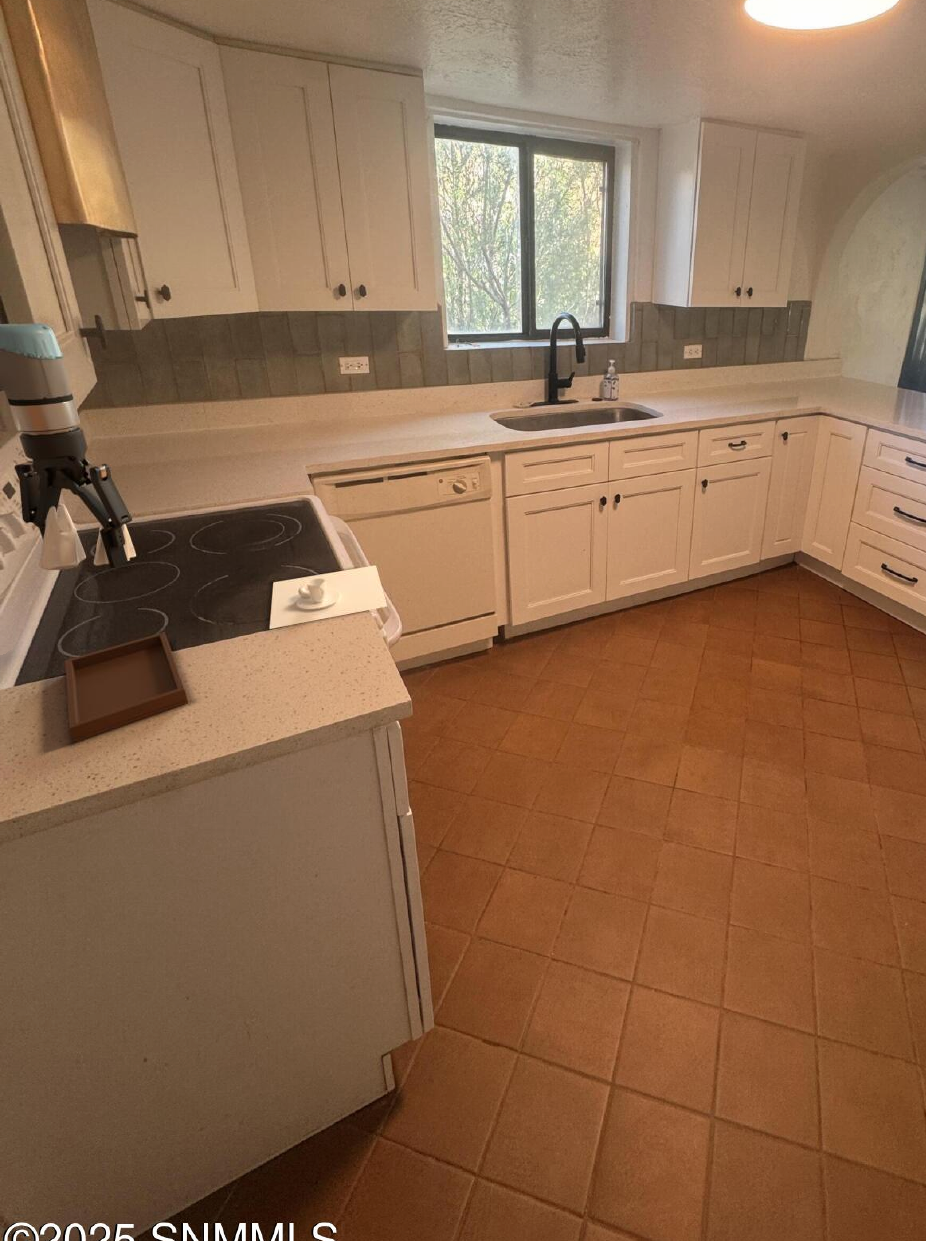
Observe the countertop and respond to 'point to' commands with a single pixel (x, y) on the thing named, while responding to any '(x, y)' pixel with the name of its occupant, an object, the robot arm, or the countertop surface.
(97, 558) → the shaker set
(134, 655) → the tray
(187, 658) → the countertop surface
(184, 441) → the countertop surface
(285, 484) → the countertop surface
